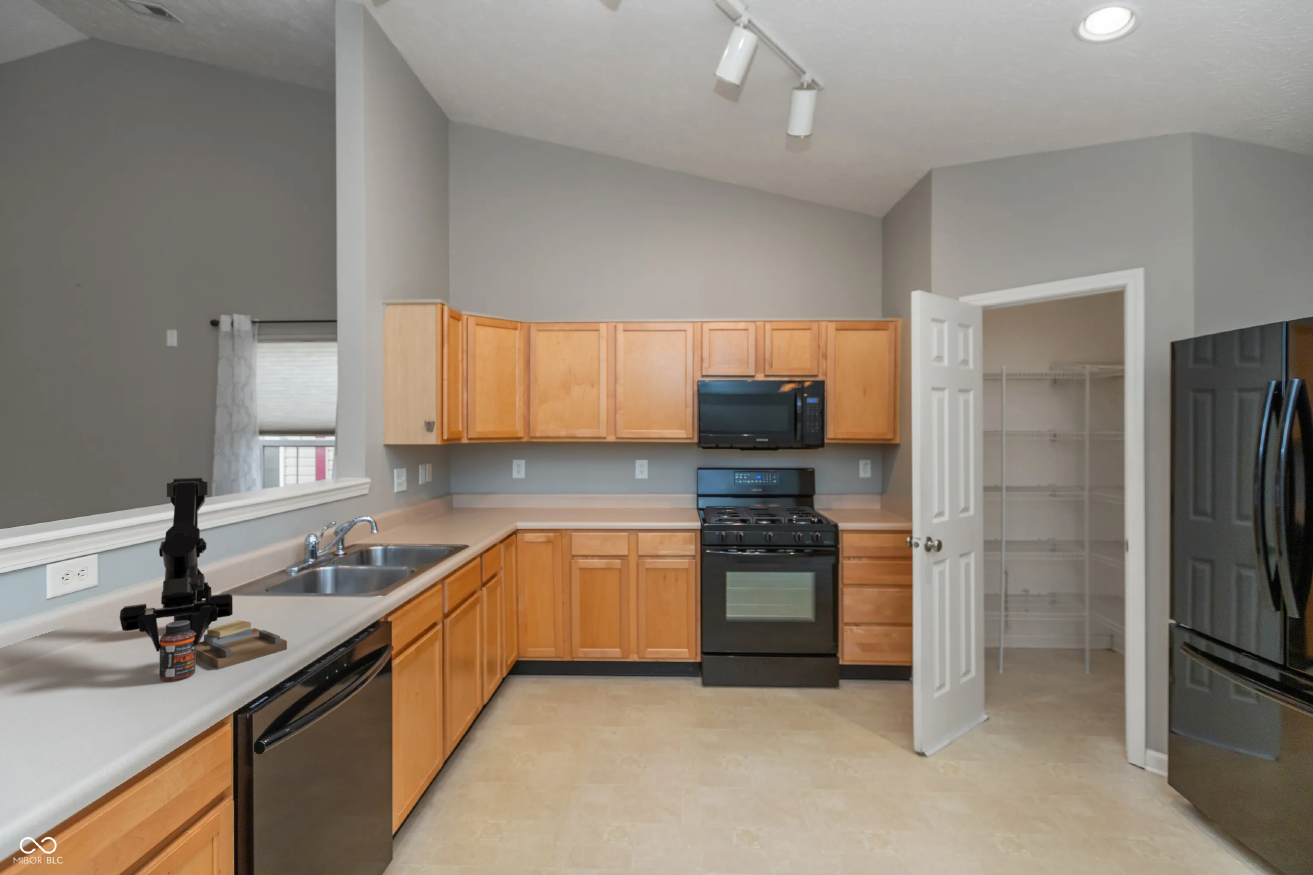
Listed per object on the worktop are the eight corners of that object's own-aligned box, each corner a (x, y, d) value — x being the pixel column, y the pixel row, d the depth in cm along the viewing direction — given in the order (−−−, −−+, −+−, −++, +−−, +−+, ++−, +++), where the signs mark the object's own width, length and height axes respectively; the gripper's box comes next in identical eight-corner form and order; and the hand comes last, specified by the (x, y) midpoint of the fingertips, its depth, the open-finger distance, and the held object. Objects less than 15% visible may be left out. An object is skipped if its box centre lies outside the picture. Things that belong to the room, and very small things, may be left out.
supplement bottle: (175, 683, 121) (174, 628, 121) (151, 681, 122) (151, 626, 122) (203, 672, 127) (202, 619, 127) (180, 669, 128) (180, 617, 128)
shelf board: (187, 653, 137) (187, 632, 137) (254, 635, 149) (254, 616, 149) (218, 669, 128) (218, 646, 128) (286, 649, 140) (286, 628, 140)
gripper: (120, 568, 122) (112, 637, 113) (232, 557, 133) (232, 619, 124) (126, 597, 129) (119, 664, 120) (232, 584, 139) (232, 645, 131)
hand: (177, 647), depth 123 cm, fingers closed on supplement bottle, 6 cm apart
